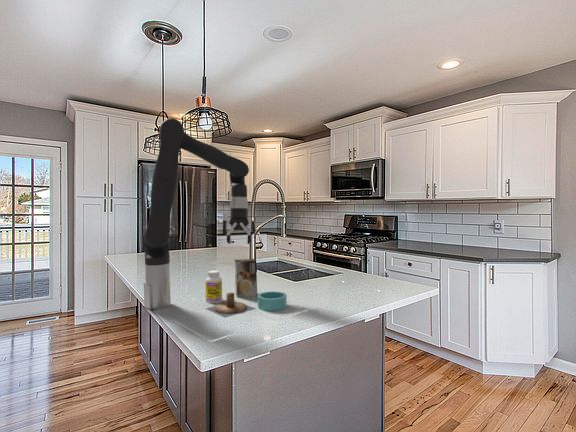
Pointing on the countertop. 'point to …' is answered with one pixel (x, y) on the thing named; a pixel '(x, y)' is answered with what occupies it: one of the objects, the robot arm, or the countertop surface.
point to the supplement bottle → (213, 287)
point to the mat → (229, 314)
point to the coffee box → (245, 278)
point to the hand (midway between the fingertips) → (239, 243)
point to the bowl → (272, 301)
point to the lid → (230, 305)
